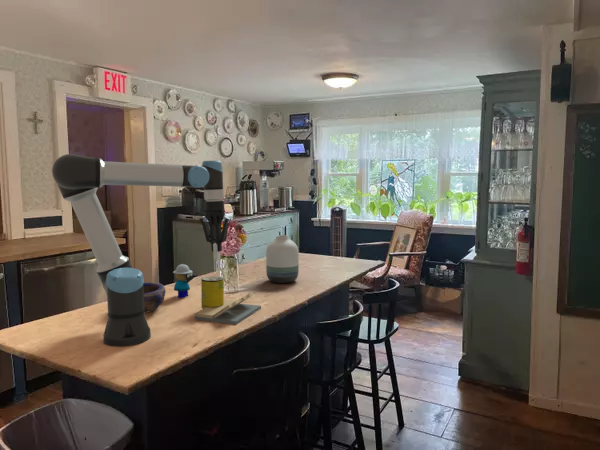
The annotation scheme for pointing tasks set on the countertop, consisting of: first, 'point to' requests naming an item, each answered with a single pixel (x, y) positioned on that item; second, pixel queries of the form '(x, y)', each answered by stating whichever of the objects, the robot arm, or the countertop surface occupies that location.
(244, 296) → the plank far
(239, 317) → the underlay
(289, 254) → the vase
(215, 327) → the countertop surface
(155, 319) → the countertop surface
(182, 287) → the toy
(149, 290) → the bowl
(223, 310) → the tan flat block
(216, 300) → the beverage can
